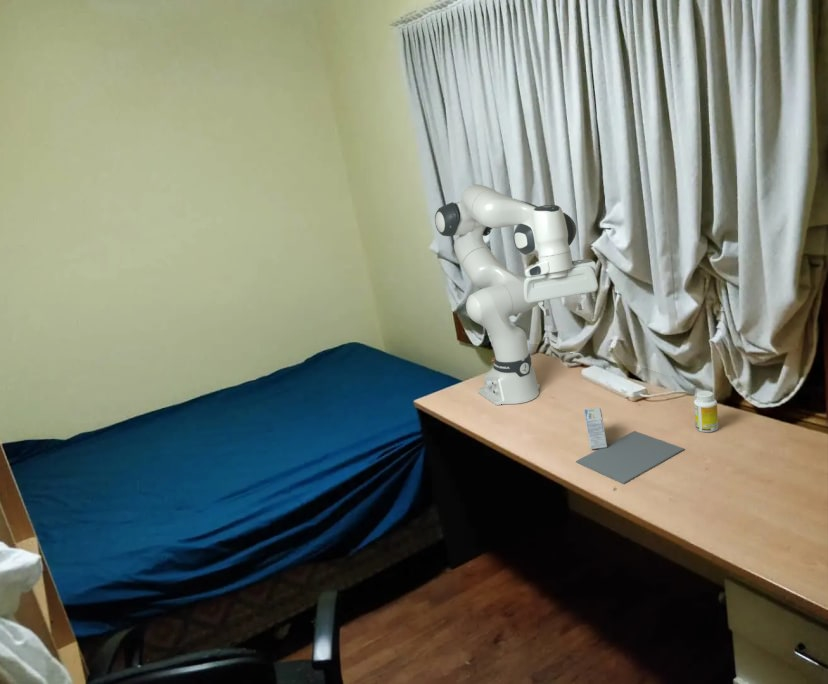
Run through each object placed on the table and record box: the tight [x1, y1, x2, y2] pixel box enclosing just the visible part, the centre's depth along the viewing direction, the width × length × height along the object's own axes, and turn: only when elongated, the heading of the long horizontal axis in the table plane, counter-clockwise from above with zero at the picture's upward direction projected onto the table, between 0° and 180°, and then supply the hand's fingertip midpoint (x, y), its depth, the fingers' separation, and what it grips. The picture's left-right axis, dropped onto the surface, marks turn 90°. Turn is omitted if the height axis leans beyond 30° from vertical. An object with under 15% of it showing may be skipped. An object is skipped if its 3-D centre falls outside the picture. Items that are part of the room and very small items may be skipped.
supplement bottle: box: [693, 390, 719, 433], centre depth 168 cm, size 6×6×10 cm
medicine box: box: [584, 407, 608, 450], centre depth 172 cm, size 8×4×9 cm, turn 169°
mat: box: [575, 430, 685, 485], centre depth 163 cm, size 16×22×1 cm
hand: (564, 312), depth 177 cm, fingers open, 8 cm apart
